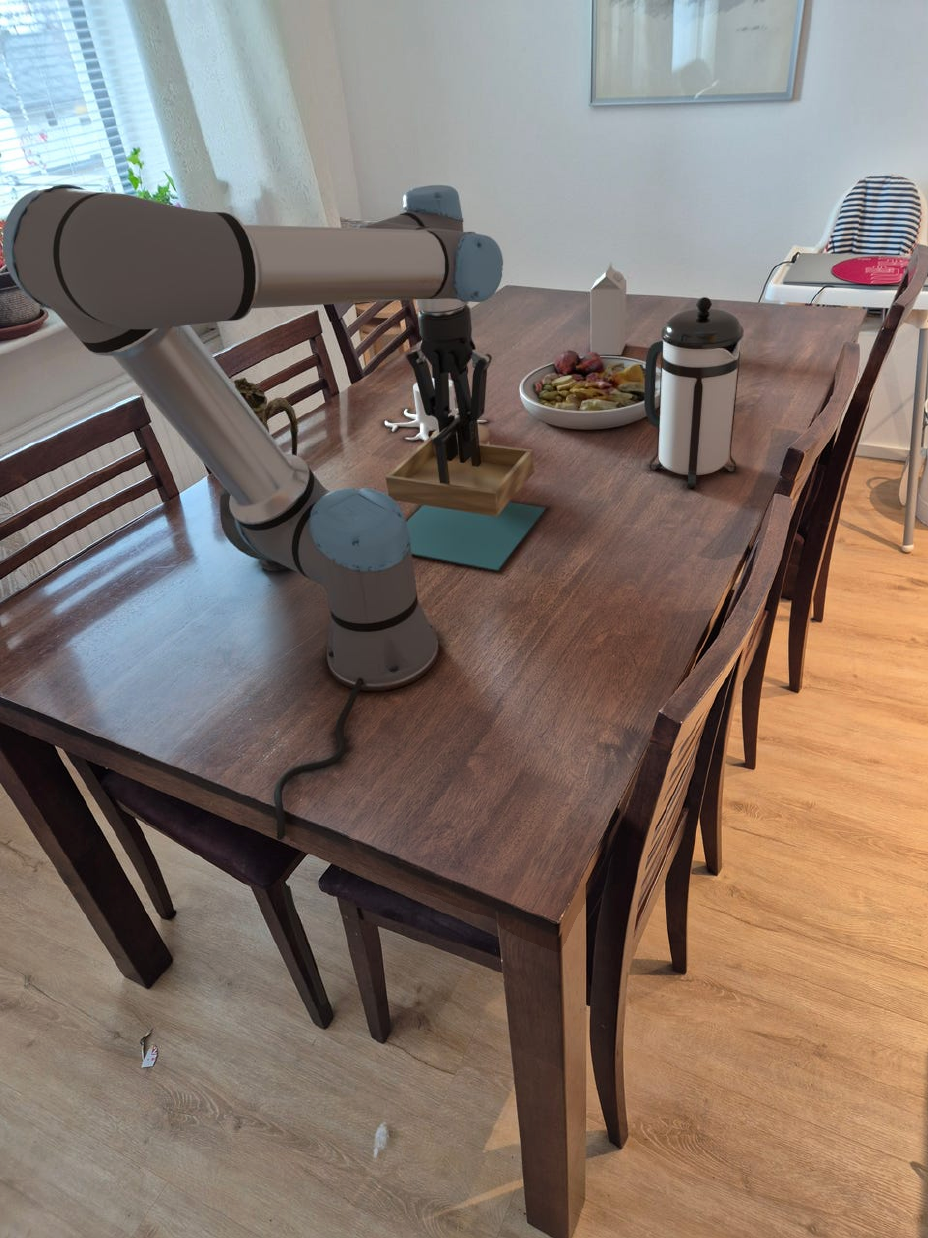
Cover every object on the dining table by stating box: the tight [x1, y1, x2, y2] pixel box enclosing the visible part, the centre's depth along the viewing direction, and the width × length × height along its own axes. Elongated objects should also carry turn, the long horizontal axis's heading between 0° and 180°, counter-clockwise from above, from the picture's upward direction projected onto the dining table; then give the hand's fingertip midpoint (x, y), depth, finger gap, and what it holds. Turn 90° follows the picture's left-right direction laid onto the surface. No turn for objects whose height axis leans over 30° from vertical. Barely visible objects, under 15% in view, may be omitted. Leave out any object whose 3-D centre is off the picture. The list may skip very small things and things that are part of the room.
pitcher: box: [219, 377, 299, 572], centre depth 134 cm, size 11×19×30 cm, turn 156°
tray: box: [385, 415, 535, 517], centre depth 136 cm, size 15×19×11 cm
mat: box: [406, 501, 547, 572], centre depth 144 cm, size 20×21×1 cm
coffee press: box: [644, 296, 745, 489], centre depth 145 cm, size 17×16×30 cm
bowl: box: [519, 349, 662, 431], centre depth 177 cm, size 30×30×8 cm
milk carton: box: [589, 261, 627, 356], centre depth 198 cm, size 7×7×19 cm
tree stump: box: [384, 377, 488, 442], centre depth 177 cm, size 20×19×8 cm
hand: (459, 457), depth 136 cm, fingers closed on tray, 2 cm apart
